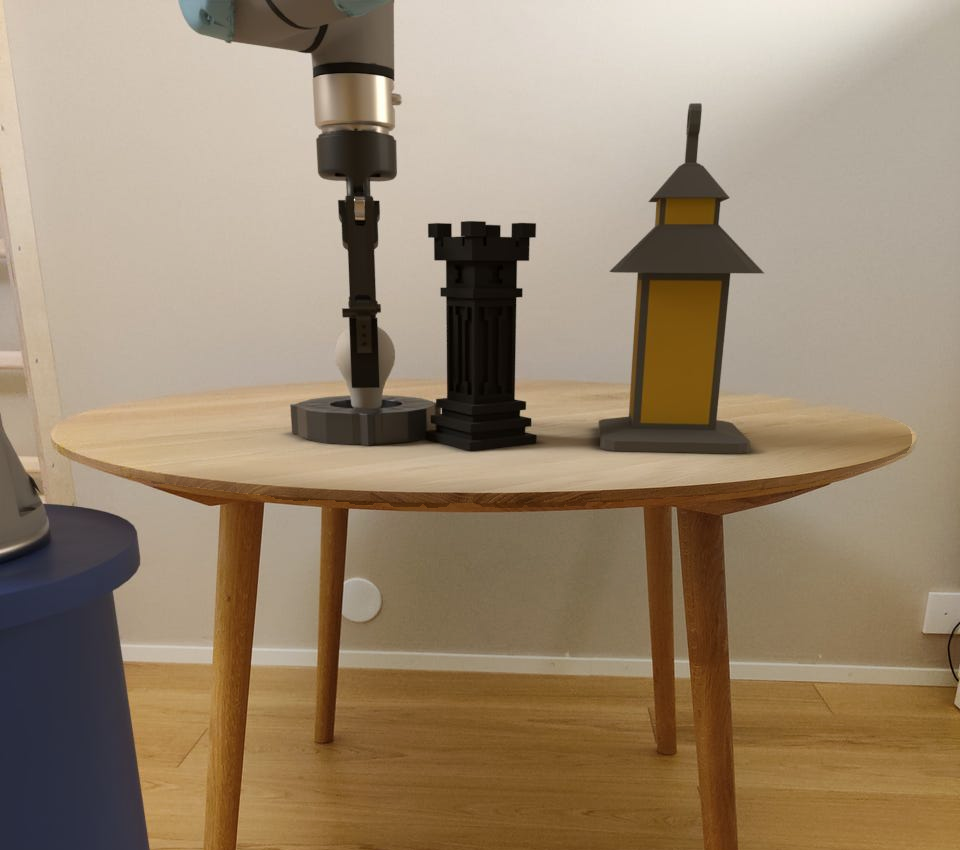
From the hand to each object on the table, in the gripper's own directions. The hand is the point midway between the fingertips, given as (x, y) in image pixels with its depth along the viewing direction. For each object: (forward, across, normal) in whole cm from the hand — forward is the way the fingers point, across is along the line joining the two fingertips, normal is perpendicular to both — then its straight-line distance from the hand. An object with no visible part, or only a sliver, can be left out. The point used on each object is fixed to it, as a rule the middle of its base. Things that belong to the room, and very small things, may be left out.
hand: (365, 382), depth 98 cm
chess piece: (+5, -6, -11) cm, 14 cm away
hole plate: (+5, 0, 0) cm, 5 cm away
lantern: (+5, -7, -30) cm, 32 cm away
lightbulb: (+5, +1, 0) cm, 5 cm away
